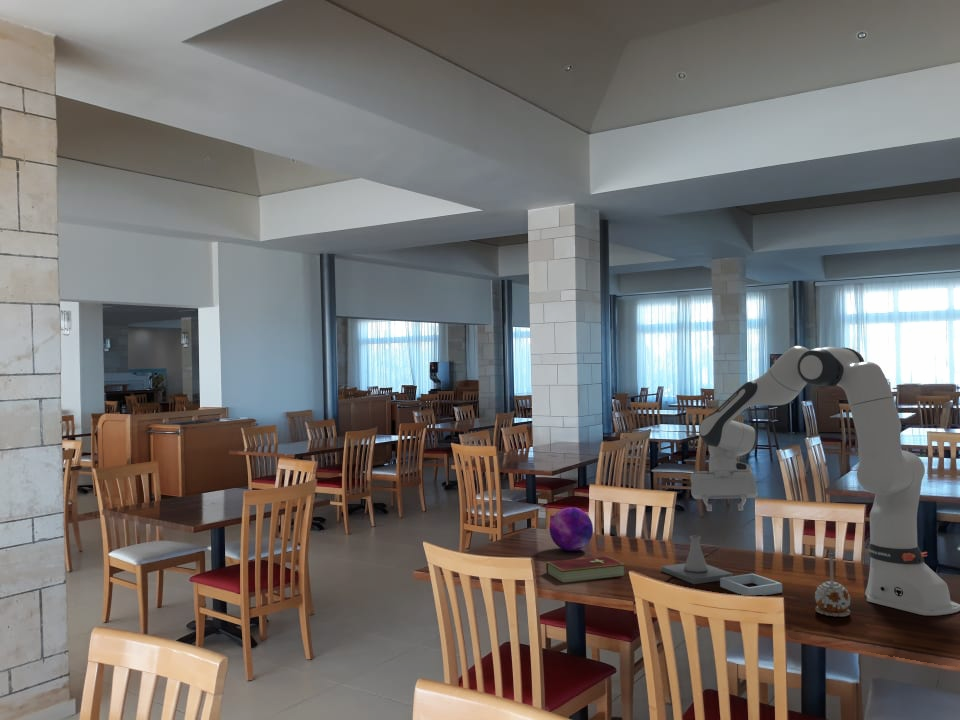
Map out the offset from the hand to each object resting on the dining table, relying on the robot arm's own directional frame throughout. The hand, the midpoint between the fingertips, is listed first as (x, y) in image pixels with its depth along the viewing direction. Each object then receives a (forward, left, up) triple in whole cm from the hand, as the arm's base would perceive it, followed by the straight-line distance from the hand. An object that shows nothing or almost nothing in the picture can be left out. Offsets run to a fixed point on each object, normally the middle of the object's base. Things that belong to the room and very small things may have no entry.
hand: (724, 510), depth 236 cm
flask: (-4, +14, -16) cm, 22 cm away
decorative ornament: (-48, +6, -18) cm, 52 cm away
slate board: (-4, +14, -18) cm, 23 cm away
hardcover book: (+11, +44, -18) cm, 49 cm away
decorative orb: (+40, +33, -18) cm, 55 cm away
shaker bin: (-23, +10, -18) cm, 31 cm away
